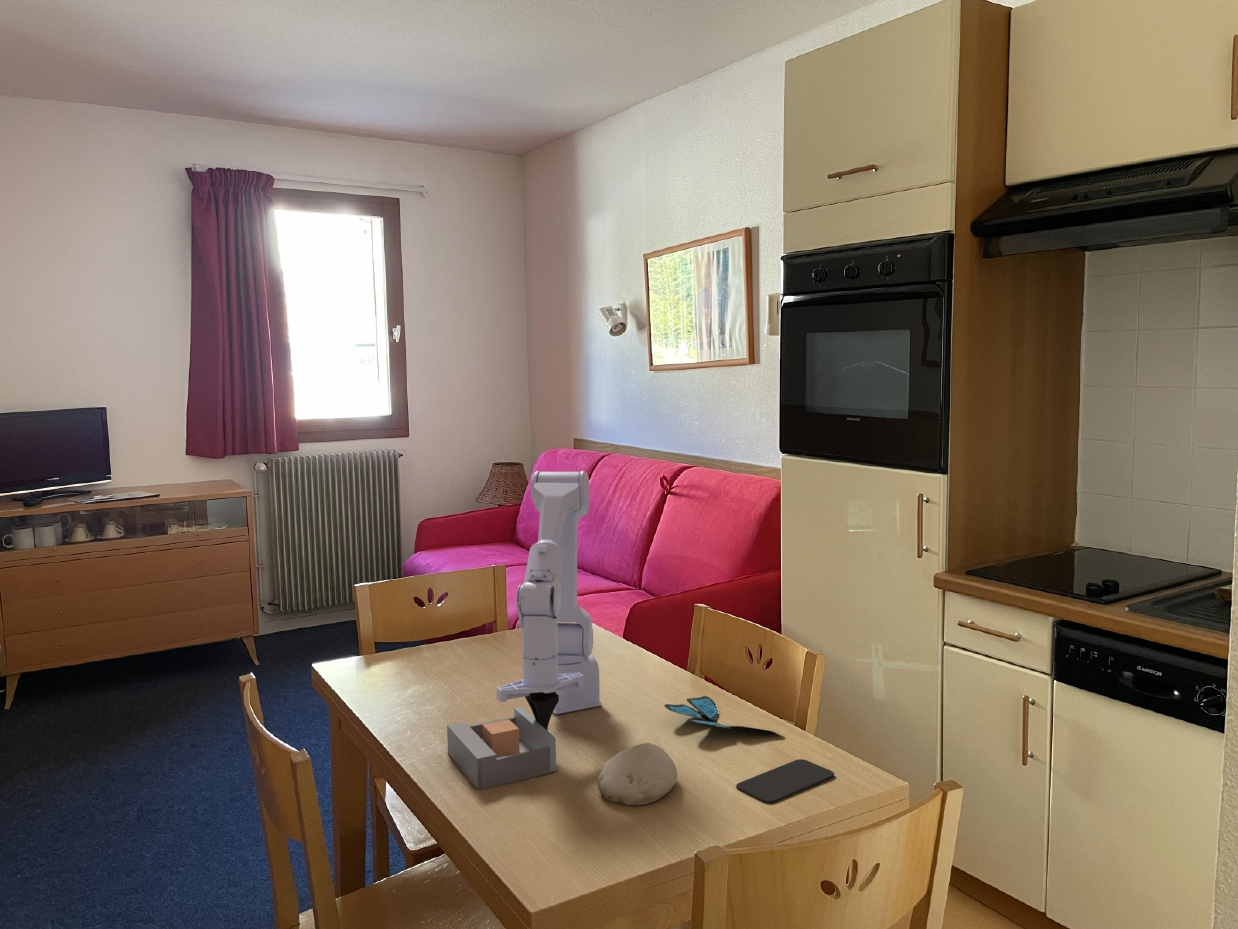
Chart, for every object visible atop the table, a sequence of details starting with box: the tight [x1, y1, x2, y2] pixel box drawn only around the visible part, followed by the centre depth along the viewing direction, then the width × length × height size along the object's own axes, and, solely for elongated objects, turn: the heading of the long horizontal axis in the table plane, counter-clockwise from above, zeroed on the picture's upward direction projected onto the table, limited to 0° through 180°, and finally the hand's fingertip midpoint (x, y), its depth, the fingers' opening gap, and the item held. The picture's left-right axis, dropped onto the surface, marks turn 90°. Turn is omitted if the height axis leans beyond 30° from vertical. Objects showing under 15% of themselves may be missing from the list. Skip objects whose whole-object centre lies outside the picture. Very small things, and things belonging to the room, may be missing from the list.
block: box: [482, 719, 520, 758], centre depth 146 cm, size 4×4×5 cm
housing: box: [446, 716, 551, 791], centre depth 146 cm, size 12×15×5 cm
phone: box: [735, 758, 835, 805], centre depth 138 cm, size 7×1×15 cm
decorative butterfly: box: [664, 695, 782, 733], centre depth 160 cm, size 20×14×3 cm
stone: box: [597, 742, 678, 806], centre depth 136 cm, size 13×10×8 cm
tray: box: [481, 706, 557, 773], centre depth 146 cm, size 12×15×5 cm
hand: (542, 736), depth 149 cm, fingers closed
